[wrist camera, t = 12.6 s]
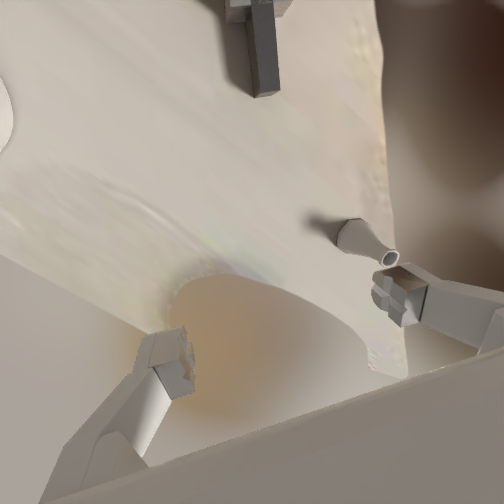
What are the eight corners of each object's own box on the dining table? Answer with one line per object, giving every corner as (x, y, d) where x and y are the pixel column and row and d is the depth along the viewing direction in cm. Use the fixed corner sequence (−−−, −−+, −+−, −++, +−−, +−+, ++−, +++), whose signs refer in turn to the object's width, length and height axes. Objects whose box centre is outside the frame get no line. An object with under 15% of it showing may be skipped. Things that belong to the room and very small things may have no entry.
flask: (359, 255, 48) (396, 281, 39) (329, 249, 45) (361, 275, 37) (376, 222, 45) (419, 242, 36) (345, 214, 43) (383, 233, 34)
